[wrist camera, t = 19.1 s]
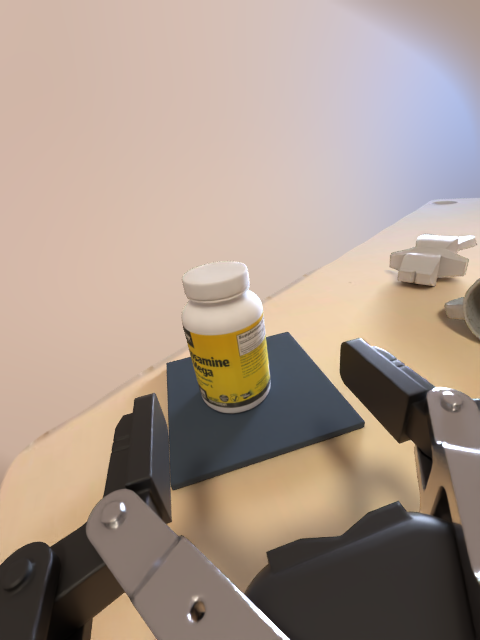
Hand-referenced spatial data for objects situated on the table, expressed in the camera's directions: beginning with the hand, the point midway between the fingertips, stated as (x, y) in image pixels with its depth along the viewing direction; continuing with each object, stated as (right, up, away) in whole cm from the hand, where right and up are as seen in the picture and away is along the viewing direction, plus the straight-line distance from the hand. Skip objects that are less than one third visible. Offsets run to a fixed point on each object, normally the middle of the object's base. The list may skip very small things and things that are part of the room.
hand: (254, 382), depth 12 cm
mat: (0, -4, +14) cm, 14 cm away
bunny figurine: (+28, +10, +31) cm, 43 cm away
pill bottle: (-1, -4, +13) cm, 14 cm away
